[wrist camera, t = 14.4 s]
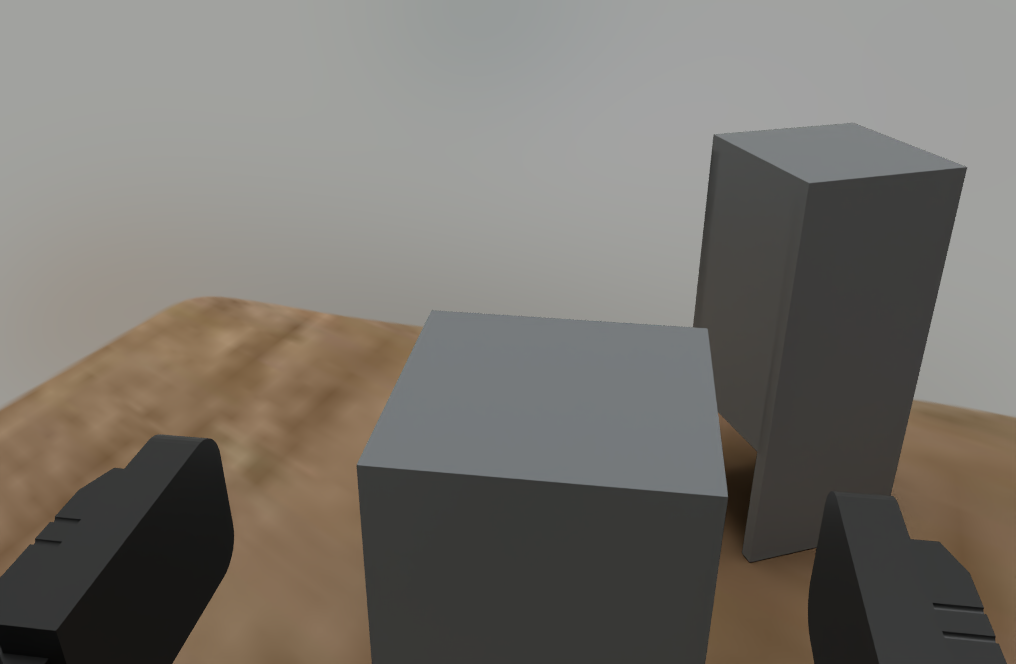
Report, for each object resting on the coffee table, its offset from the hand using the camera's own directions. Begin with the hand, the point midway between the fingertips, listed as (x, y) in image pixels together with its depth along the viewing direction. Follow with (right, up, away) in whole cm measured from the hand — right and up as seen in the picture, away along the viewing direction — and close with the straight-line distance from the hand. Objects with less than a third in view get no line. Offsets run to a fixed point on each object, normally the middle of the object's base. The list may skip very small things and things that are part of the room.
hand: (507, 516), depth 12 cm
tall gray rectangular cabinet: (+12, -5, +30) cm, 32 cm away
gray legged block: (+1, -13, +14) cm, 19 cm away
